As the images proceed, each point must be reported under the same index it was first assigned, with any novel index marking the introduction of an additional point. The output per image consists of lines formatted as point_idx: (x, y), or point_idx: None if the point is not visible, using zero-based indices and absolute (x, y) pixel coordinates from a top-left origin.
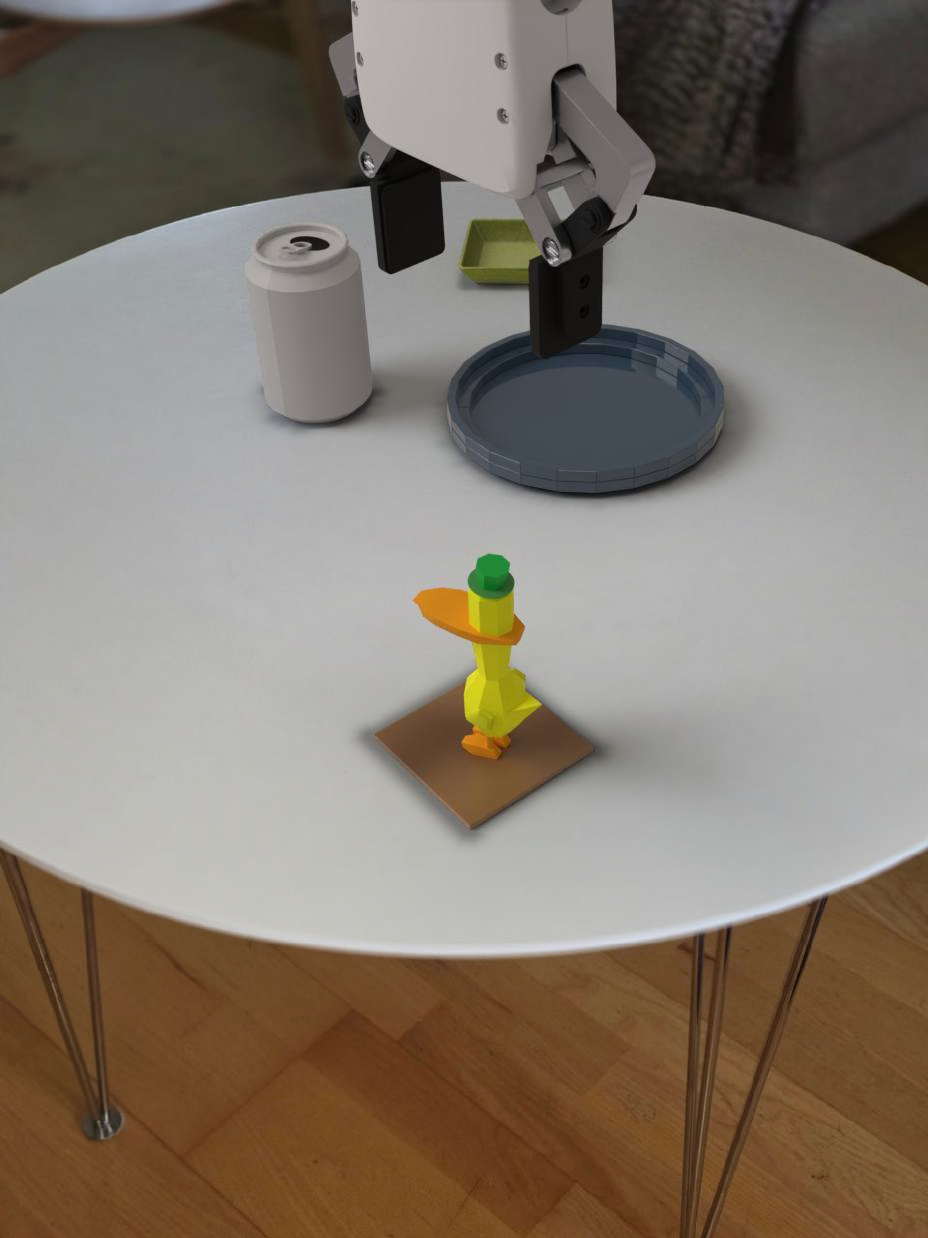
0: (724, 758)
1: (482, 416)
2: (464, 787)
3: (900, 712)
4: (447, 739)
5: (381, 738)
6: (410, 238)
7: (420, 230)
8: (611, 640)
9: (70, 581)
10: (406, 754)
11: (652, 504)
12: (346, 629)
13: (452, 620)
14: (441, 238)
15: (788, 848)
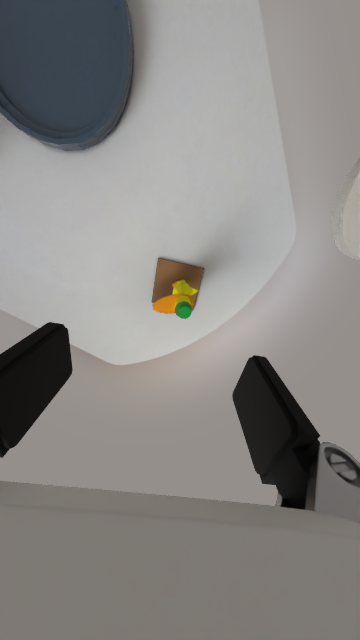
0: (237, 245)
1: (17, 98)
2: None
3: (282, 183)
4: (168, 291)
5: (154, 302)
6: (55, 374)
7: (50, 366)
8: (179, 218)
9: (32, 309)
10: None
11: (137, 110)
12: (109, 272)
13: (172, 311)
14: (58, 336)
15: (265, 264)
